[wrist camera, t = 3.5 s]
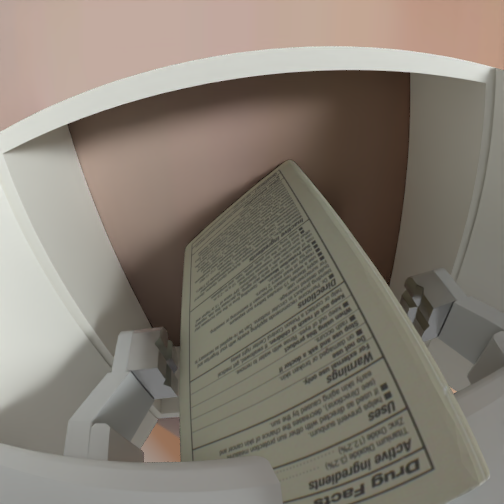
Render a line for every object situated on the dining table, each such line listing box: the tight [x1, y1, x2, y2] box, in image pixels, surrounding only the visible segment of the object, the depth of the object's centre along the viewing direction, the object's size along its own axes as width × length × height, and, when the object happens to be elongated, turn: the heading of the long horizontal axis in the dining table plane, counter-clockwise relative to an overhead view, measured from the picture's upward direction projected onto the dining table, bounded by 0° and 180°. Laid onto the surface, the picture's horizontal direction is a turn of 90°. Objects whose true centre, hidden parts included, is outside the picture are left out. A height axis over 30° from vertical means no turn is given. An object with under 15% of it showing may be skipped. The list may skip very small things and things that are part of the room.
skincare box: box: [179, 160, 490, 504], centre depth 9 cm, size 6×4×12 cm
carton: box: [0, 46, 504, 456], centre depth 10 cm, size 22×15×10 cm
